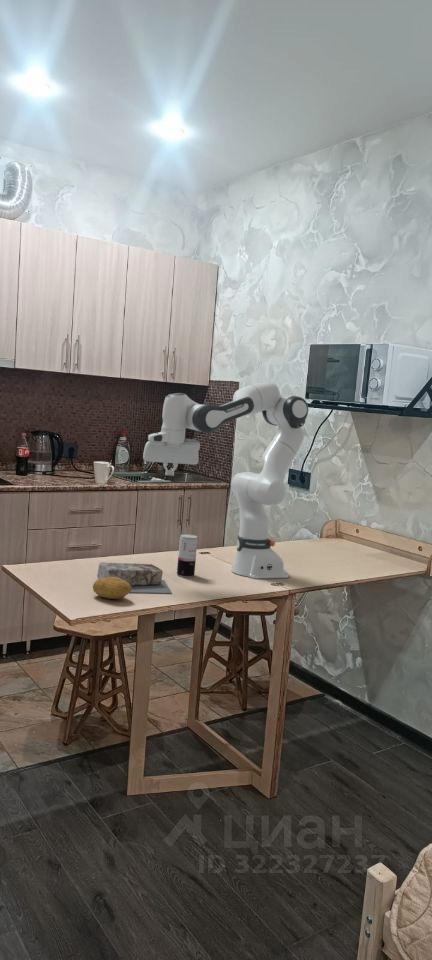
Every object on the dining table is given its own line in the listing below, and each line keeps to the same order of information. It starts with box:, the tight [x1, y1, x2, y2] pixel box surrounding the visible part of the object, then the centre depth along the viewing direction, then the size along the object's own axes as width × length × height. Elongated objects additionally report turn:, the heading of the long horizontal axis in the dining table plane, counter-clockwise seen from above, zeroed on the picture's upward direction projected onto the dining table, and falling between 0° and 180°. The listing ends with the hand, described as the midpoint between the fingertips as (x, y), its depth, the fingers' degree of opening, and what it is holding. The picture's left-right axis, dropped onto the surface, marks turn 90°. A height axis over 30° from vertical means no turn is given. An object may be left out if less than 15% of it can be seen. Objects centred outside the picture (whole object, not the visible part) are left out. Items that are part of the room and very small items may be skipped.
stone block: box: [97, 561, 164, 586], centre depth 248 cm, size 13×7×20 cm
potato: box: [92, 577, 131, 600], centre depth 228 cm, size 9×13×7 cm
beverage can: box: [176, 533, 198, 578], centre depth 264 cm, size 6×6×15 cm
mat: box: [129, 579, 173, 595], centre depth 244 cm, size 19×16×1 cm
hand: (169, 475), depth 260 cm, fingers closed
